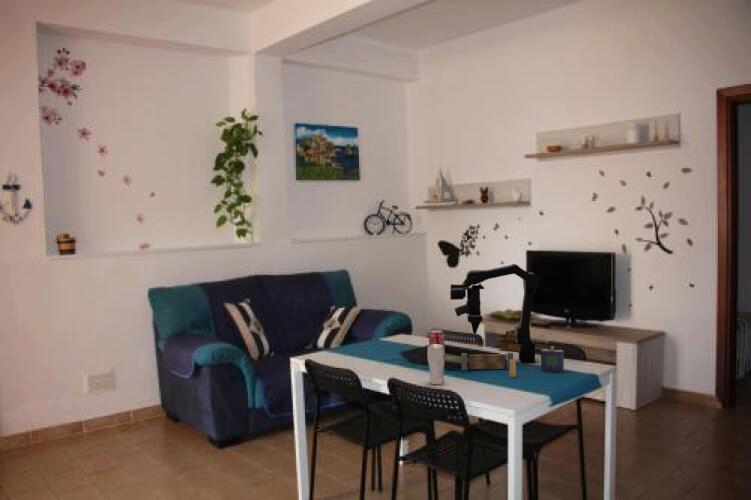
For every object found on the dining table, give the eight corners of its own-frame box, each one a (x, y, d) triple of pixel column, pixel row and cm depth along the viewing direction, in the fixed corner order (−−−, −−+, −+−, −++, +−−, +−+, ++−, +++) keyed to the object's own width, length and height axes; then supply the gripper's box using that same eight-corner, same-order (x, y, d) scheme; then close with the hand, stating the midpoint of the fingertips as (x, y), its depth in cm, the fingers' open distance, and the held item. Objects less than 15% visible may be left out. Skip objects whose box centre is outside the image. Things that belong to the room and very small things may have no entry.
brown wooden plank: (506, 367, 268) (506, 354, 267) (507, 369, 266) (506, 355, 265) (469, 368, 270) (468, 354, 269) (469, 369, 267) (469, 356, 267)
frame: (512, 368, 268) (512, 352, 268) (516, 377, 255) (516, 361, 254) (461, 368, 270) (461, 353, 270) (462, 377, 257) (462, 361, 257)
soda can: (444, 354, 295) (443, 329, 294) (444, 358, 288) (444, 332, 287) (429, 354, 296) (428, 329, 295) (429, 358, 289) (428, 333, 288)
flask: (563, 370, 262) (563, 345, 261) (563, 372, 259) (563, 347, 258) (541, 370, 264) (540, 345, 263) (540, 372, 261) (540, 346, 260)
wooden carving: (497, 351, 296) (497, 331, 295) (497, 349, 301) (497, 328, 300) (533, 352, 292) (533, 331, 292) (533, 350, 297) (532, 329, 296)
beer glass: (427, 380, 256) (425, 344, 254) (443, 379, 256) (442, 343, 255) (429, 385, 249) (428, 348, 247) (447, 384, 249) (446, 347, 248)
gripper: (454, 296, 287) (455, 329, 288) (455, 303, 269) (456, 338, 270) (479, 295, 286) (480, 329, 287) (482, 302, 267) (483, 338, 269)
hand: (474, 333), depth 278 cm, fingers closed
